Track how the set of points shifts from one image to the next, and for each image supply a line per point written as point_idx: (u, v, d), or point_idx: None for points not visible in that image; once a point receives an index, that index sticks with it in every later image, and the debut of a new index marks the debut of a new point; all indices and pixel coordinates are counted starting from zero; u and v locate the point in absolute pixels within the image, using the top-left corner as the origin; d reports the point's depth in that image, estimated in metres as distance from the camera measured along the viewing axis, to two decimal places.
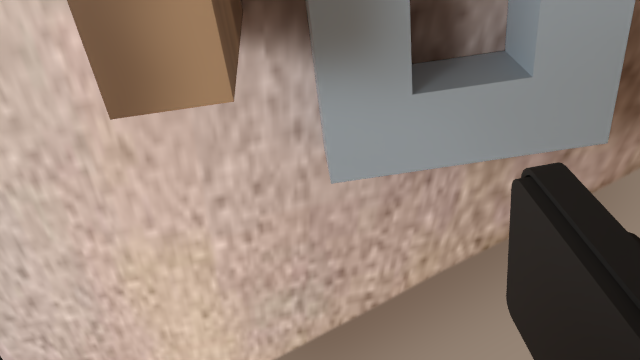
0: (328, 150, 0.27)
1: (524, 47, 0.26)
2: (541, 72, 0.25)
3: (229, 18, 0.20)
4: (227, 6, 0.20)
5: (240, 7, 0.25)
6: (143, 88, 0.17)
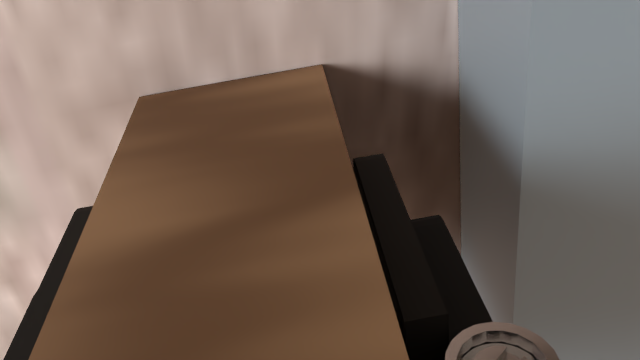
0: None
1: None
2: None
3: None
4: None
5: None
6: None
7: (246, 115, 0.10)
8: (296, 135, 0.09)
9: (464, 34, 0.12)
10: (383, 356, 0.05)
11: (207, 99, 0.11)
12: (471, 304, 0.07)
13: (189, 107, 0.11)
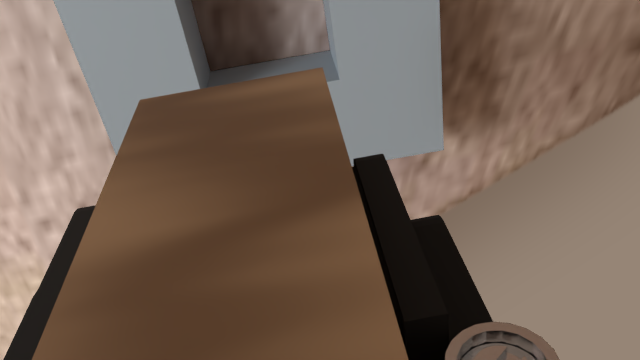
0: None
1: (333, 46, 0.23)
2: (348, 74, 0.23)
3: None
4: None
5: None
6: None
7: (246, 118, 0.10)
8: (297, 138, 0.09)
9: None
10: None
11: (208, 102, 0.11)
12: (470, 304, 0.07)
13: (190, 110, 0.11)
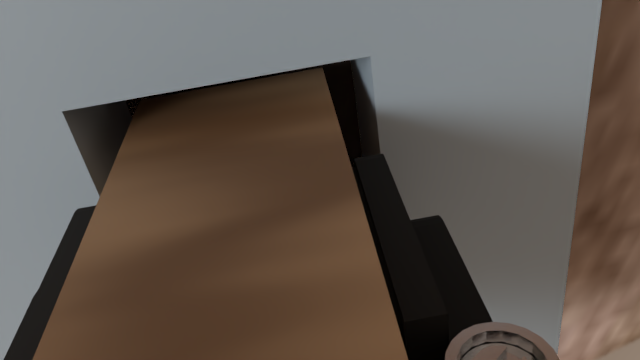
0: None
1: None
2: None
3: None
4: None
5: None
6: None
7: (246, 117, 0.10)
8: (297, 138, 0.09)
9: None
10: (384, 359, 0.05)
11: (208, 102, 0.11)
12: (471, 304, 0.07)
13: (190, 110, 0.11)
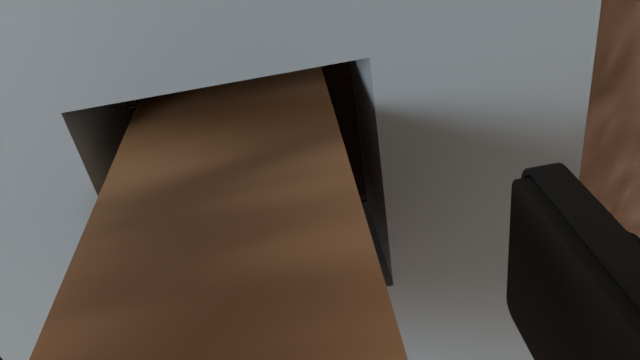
0: None
1: (379, 221, 0.13)
2: (409, 277, 0.13)
3: None
4: None
5: None
6: None
7: (244, 83, 0.12)
8: (289, 98, 0.11)
9: None
10: (355, 250, 0.07)
11: None
12: None
13: None
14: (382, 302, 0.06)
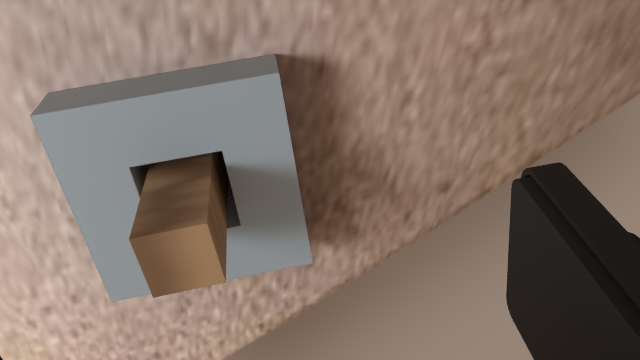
0: (103, 280, 0.37)
1: None
2: (246, 222, 0.36)
3: (220, 220, 0.33)
4: (218, 213, 0.33)
5: (226, 189, 0.38)
6: (172, 280, 0.30)
7: None
8: (199, 161, 0.34)
9: None
10: (204, 201, 0.30)
11: None
12: None
13: None
14: (206, 210, 0.29)
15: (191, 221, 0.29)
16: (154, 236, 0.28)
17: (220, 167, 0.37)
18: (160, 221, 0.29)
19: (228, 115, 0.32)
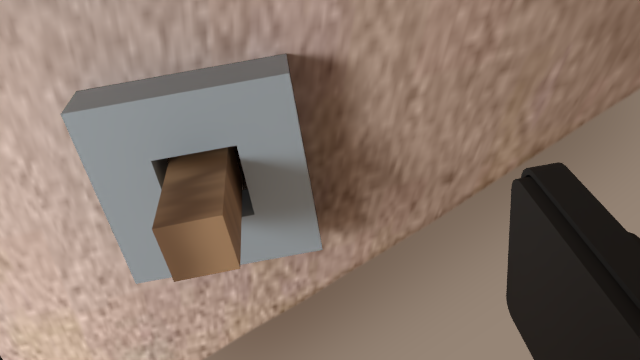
0: (128, 264, 0.40)
1: None
2: (259, 211, 0.39)
3: (235, 210, 0.35)
4: (233, 204, 0.35)
5: (241, 180, 0.40)
6: (191, 266, 0.32)
7: None
8: (215, 155, 0.37)
9: None
10: (220, 194, 0.33)
11: None
12: None
13: None
14: (221, 202, 0.32)
15: (208, 213, 0.31)
16: (174, 226, 0.31)
17: (235, 159, 0.40)
18: (180, 212, 0.32)
19: (242, 113, 0.35)
